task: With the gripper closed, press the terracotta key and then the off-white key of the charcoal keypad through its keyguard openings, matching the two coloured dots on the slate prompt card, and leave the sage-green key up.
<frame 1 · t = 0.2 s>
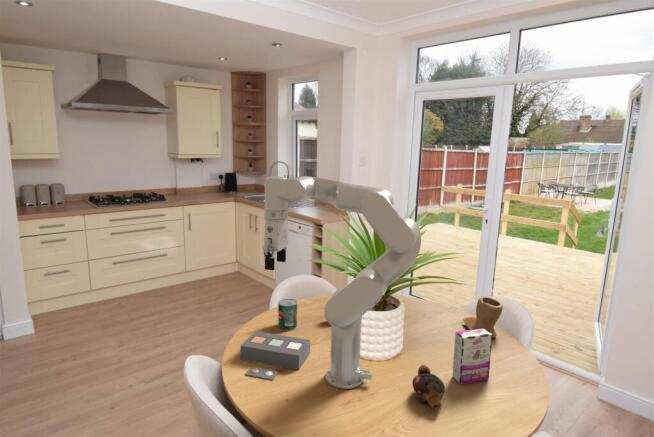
hand: (275, 265, 135), 36 cm above the table, tool pointing down, fingers open, 9 cm apart
sage key: (276, 345, 147), point 4 cm above the table, slide at 0.0 cm
candy bar box: (469, 378, 136), on the table
canned tomato: (287, 327, 171), on the table
off-white key: (294, 348, 145), point 4 cm above the table, slide at 0.0 cm
keypad housing: (276, 356, 147), on the table
prompt card: (261, 373, 136), on the table
tan boot: (482, 332, 171), on the table
terracotta key: (258, 342, 149), point 4 cm above the table, slide at 0.0 cm
decorative turtle: (427, 399, 124), on the table
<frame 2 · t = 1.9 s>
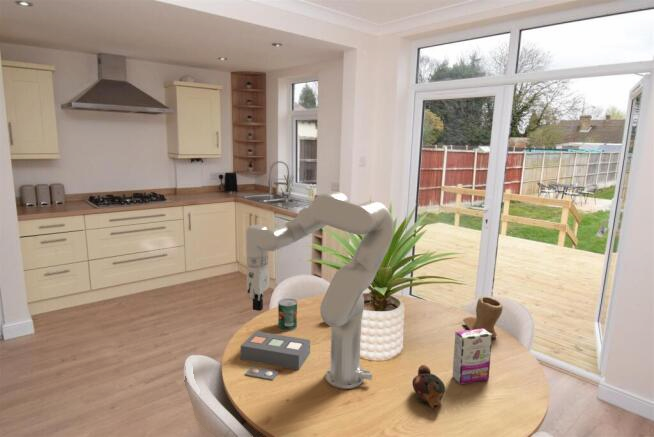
hand: (257, 309, 146), 17 cm above the table, tool pointing down, fingers closed
nothing on the table moved.
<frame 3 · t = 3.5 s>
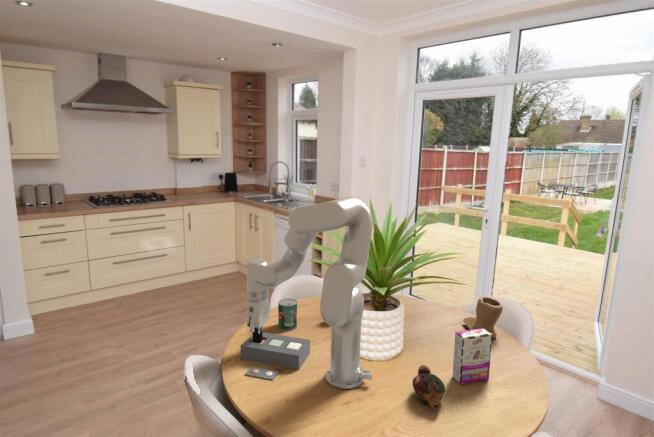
hand: (257, 341, 149), 5 cm above the table, tool pointing down, fingers closed
terracotta key: (258, 344, 149), point 3 cm above the table, slide at 0.8 cm, touching gripper
everything else where it was.
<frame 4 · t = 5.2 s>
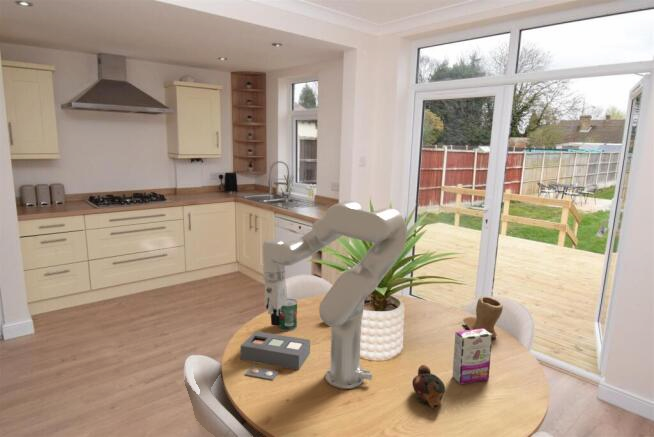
hand: (276, 324, 145), 12 cm above the table, tool pointing down, fingers closed
terracotta key: (258, 346, 149), point 3 cm above the table, slide at 1.3 cm
everything else where it was.
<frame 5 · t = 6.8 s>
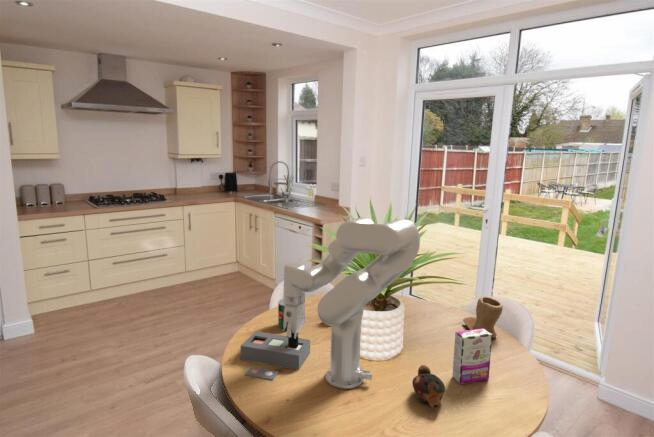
hand: (293, 346, 145), 5 cm above the table, tool pointing down, fingers closed
off-white key: (294, 350, 145), point 3 cm above the table, slide at 0.6 cm, touching gripper
everything else where it was.
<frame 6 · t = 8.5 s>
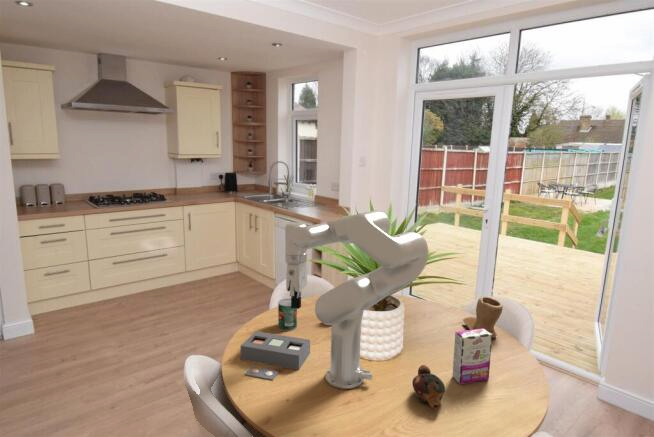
hand: (296, 307, 145), 18 cm above the table, tool pointing down, fingers closed
off-white key: (294, 352, 145), point 3 cm above the table, slide at 1.3 cm
everything else where it was.
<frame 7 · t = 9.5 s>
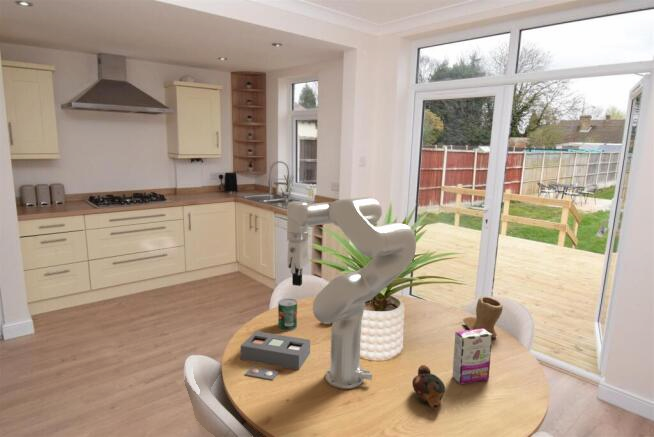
hand: (297, 284, 149), 25 cm above the table, tool pointing down, fingers closed
nothing on the table moved.
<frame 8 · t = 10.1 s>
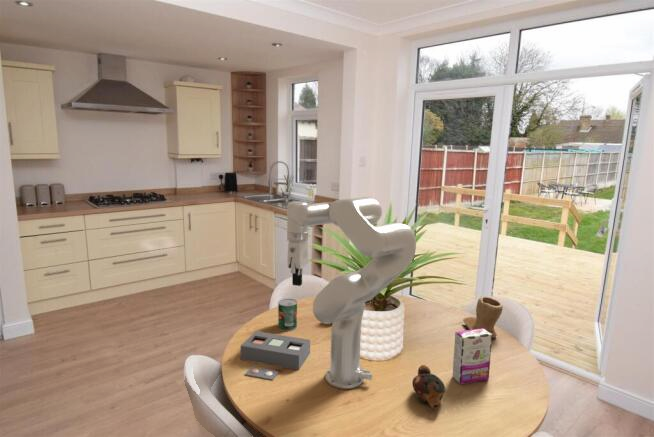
hand: (297, 284, 149), 25 cm above the table, tool pointing down, fingers closed
nothing on the table moved.
at the end: terracotta key slide at 1.3 cm; off-white key slide at 1.3 cm; sage key slide at 0.0 cm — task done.
